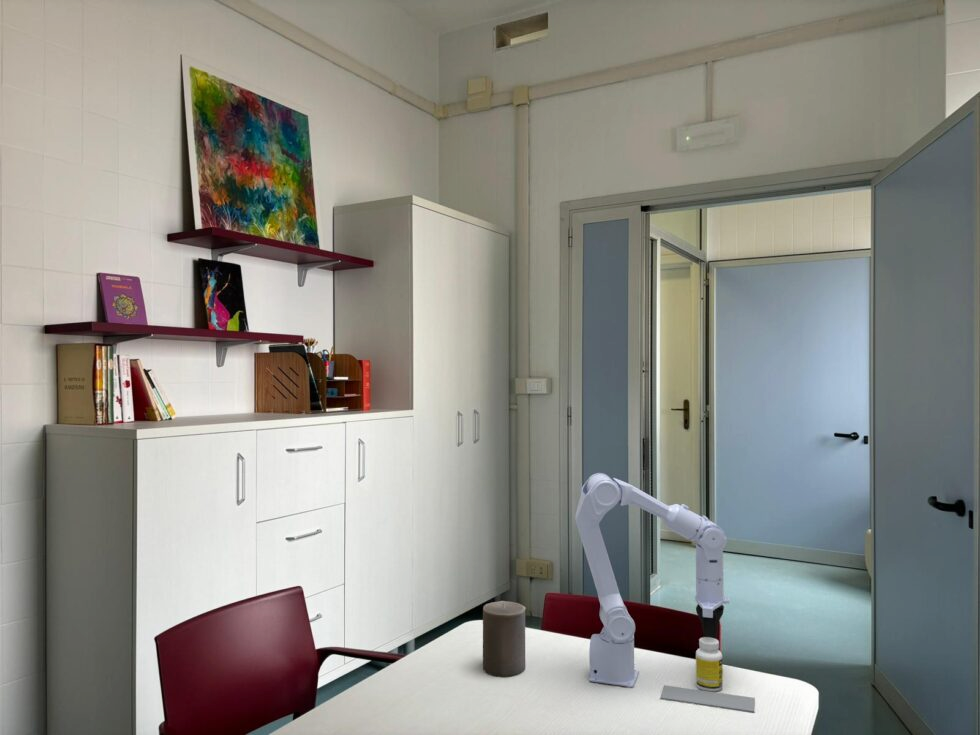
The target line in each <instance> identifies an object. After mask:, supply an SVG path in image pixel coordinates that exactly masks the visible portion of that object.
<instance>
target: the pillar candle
mask: <svg viewBox="0 0 980 735" xmlns="http://www.w3.org/2000/svg"><path fill="white" fill-rule="evenodd" d="M526 609H527V608H526V606H524V605H522V604H520V603H518V602H513V601H505V600H500V601H495V602H493V601H492V602H490V603H486V604H485V605H483V608H482V670H483V671H484V673H486V674H488V675H490V676H493V677H497V678H509V677H515V676H519V675H521V674H522V673H524V672H525V670H526Z"/></svg>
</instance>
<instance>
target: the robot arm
mask: <svg viewBox="0 0 980 735" xmlns="http://www.w3.org/2000/svg"><path fill="white" fill-rule="evenodd" d="M580 492H581V493H580V496H579V500H578V504H577V508H576V512H575V515H574V519H575V520H574V521H575V523H576V524H575V525H576V526H577V527H576V528H577V531H578V534H579V537H580V540H581V544H582V547H583V550H584V553H585V557H586V559H587V563H588V566H589V569H590V573H591V577H592V579H593V583H594V585H595V588H596V589H595V590H596V592H597V596H598V601H599V604H600V605H599V606H600V608H599V618H600V622H601V623H602V624H603V627H602V629H601V631H600V633H593V634H592V635H591V637H590V640H589V649H588V650H589V652H588V656H589V678H588V681H589V682H591V683H592V682H593V683H598V684H599V683H600V684H607V685H614V686H621V687H627V688H628V687H629V688H633V687H634V686H635V683H636V682H637V679H638V676H639V674H640V670H638V669H635V632H636V623H635V620H634V619H633V618H632V617H631V615H630V614H629V612H628V608H627V606H626V605H625V604H624V601H623V597H622V596H621V594H620V590H619V587H618V583H617V580H616V577H615V576H616V575H615V573H614V571H613V570H614V569H613V567H612V564H611V560H610V558H609V554H608V551H607V547H606V544H605V540H604V537H603V535H602V532H601V528H600V523H601V521H602V520H603V518H604V516H605V515H606V514H607V513H608V512H609V511H610V510H612V509H613V508H615V506H617V504H618V505H619V506H622V507H623V506H627V505H628V506H629V505H633V506H636V507H637V508H640V509H641V510H644V511H646V512H647V513H649V514H651V515H654V516H656V517H658V518H660V519H662V522H663V525H664V527H665V528H666V529H668V530H669V531H671V532H674V533H675V534H677V535H680V536H681V537H683V538H685V539H687V540H688V541H691V542H694V543H695V592H696V593H695V598H694V600H695V602H696V603H697V605H696V607H695V611H696V614H697V616H698V618H699V621H700V624H701V627H702V632H703V637H711V638H715V639H717V634H718V628H719V623H720V621H721V619H722V617H723V614H724V610H725V604H726V605H729V603H730V598H729V597H724V593H725V592H724V556H723V555H724V551H723V550H724V548H725V547H726V545H727V543H728V538H727V537H726V534H725V531H724V530H723V528H721V526H718V524H716V523H714V522H713V521H711V520H710V519H709V518H708V517H707V516H705V515H704V514H703V515H702V516H701V515H699V514H698V513H695V512H694V511H692V510H689V509H690V507H689V506H688V505H686V504H684V503H682V504H681V505H680V504H679V503H675V504H672V505H667V504H666V503H664V502H662V501H660V500H659V499H657V498H655V497H653V496H652V495H650V494H648V493H646V492H644V491H643V490H641V489H639V488H637V487H635V486H634V485H632V484H630V483H628V482H625V481H623V480H621V479H618V478H616V477H612V478H611V477H610V476H609V475H608V474H605V473H604V472H603V473H602V472H596V473H594V474H592V475H590V476H589V478H588V479H587V480H586V481H585V482H584V484H583V485H582V487H581V490H580Z"/></svg>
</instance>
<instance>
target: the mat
mask: <svg viewBox="0 0 980 735" xmlns="http://www.w3.org/2000/svg"><path fill="white" fill-rule="evenodd" d="M659 699H660V700H664V699H665V701H670V702H671V701H672V702H677V701H678V702H679V703H684V702H686V703H685V704H691V703H694V704H693V705H698V704H699V706H706V707H710V708H711V707H712V708H718V707H719V708H720V709H726V710H733V711H740V712H744V713H745V712H747V713H755V700H756V698H755V697H751V696H745V695H737V694H730V693H723V692H718V691H715V692H710V691H704V690H702V689H694V688H687V687H681V686H673V685H665V684H663V688H662V691H661V694H660V697H659ZM719 708H718V709H719Z"/></svg>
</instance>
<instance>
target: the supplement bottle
mask: <svg viewBox="0 0 980 735" xmlns="http://www.w3.org/2000/svg"><path fill="white" fill-rule="evenodd" d="M698 641H699V642H698V645H699V648H697V650H696V651H695V684H696V687H697V688H698V689H699V690H703V691H710V692H720V691H721V690H722V688H723V685H724V684H723V681H724V680H723V653H722V651H720V650H719V648H720V642H719V640H718V639H717V638H716V639H715V638H711V637H704V636H703V637H700V638H699V639H698Z"/></svg>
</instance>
